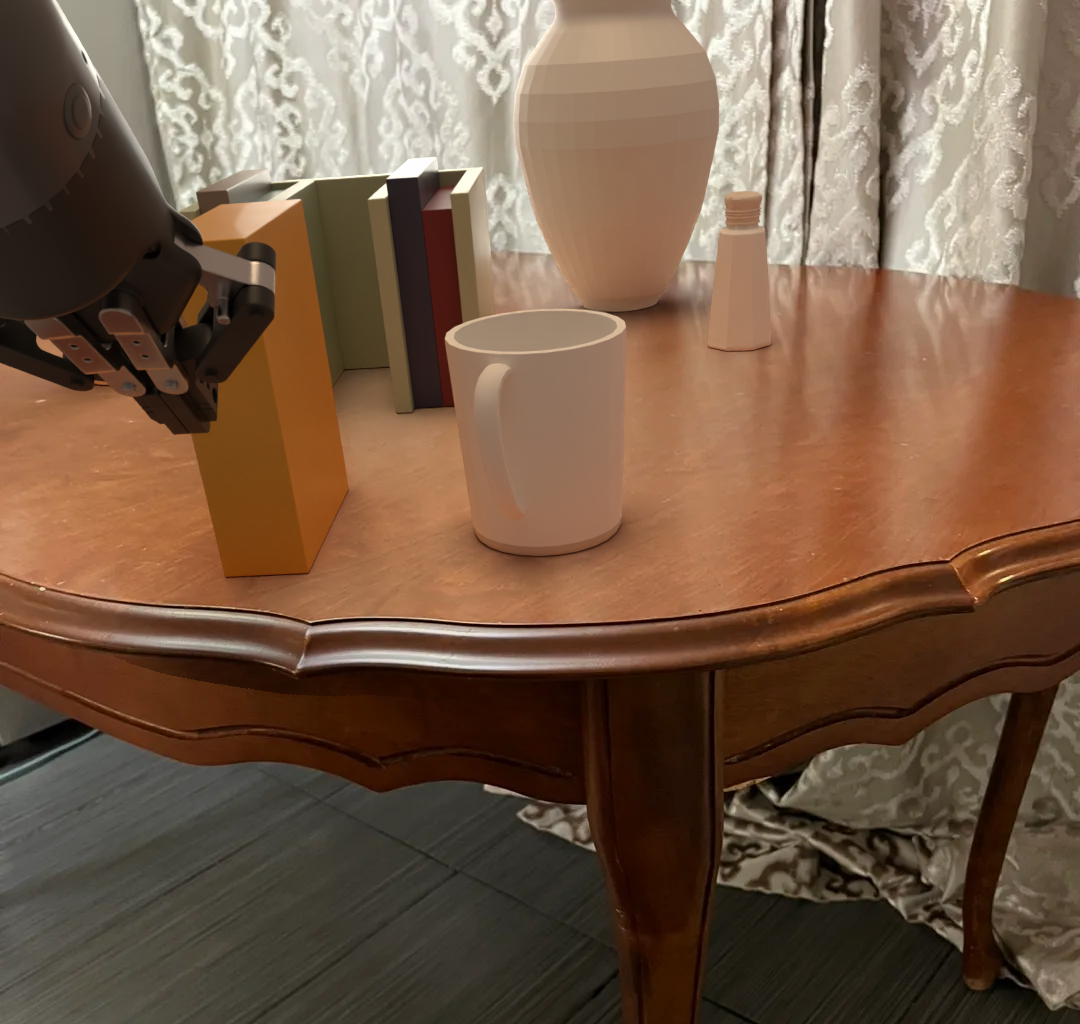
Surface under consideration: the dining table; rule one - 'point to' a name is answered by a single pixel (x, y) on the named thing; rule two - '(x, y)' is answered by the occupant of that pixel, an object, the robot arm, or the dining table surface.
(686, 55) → the vase
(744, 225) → the pepper shaker
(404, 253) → the bookrack
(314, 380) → the ochre book
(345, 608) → the dining table surface
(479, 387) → the mug
